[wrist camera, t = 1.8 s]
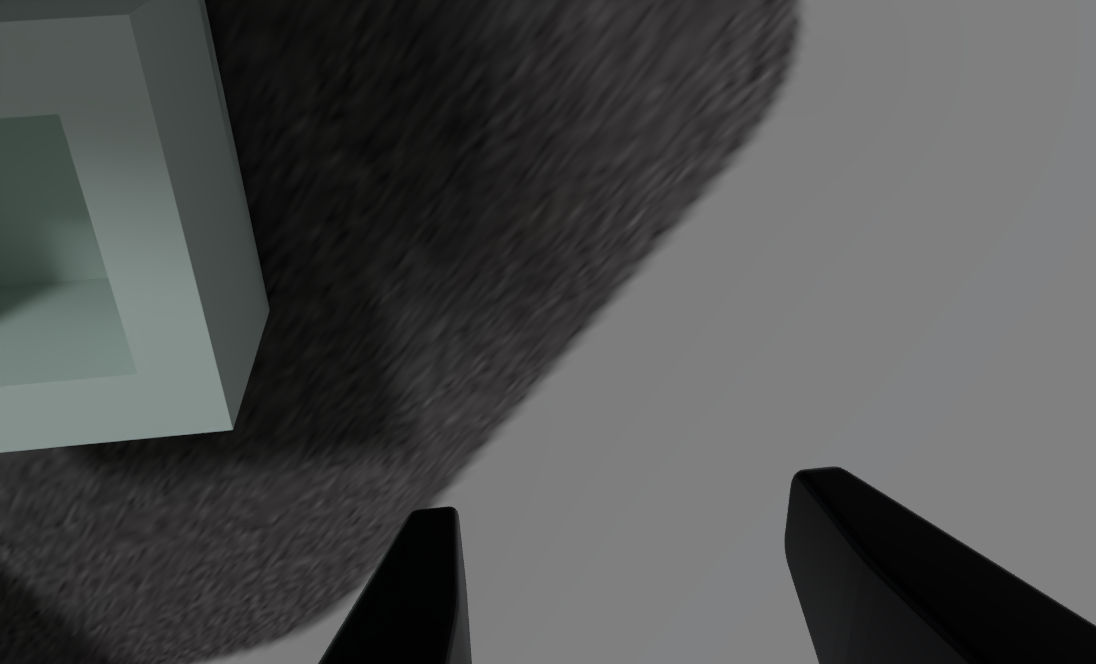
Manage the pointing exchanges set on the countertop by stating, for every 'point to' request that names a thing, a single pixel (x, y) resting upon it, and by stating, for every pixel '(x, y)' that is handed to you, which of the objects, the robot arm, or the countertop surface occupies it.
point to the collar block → (120, 227)
